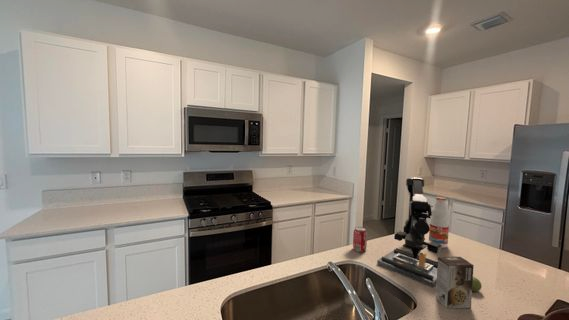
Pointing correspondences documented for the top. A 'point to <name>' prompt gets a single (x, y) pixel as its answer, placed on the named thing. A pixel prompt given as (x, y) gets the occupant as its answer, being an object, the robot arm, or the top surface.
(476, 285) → the pear
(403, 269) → the panel
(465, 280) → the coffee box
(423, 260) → the breaker lever
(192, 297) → the top surface
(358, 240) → the soda can
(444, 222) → the fruit juice
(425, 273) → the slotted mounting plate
